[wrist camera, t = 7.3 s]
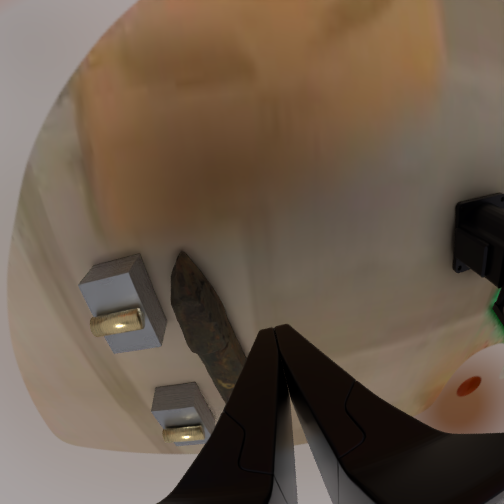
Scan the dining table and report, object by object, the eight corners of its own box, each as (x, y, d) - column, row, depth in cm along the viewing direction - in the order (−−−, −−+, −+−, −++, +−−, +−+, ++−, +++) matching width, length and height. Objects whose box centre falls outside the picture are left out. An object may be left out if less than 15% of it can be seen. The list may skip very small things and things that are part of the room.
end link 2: (195, 382, 27) (192, 419, 23) (214, 419, 29) (215, 453, 25) (155, 387, 27) (148, 423, 23) (178, 423, 29) (175, 457, 25)
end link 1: (139, 253, 21) (122, 283, 17) (167, 322, 24) (158, 359, 20) (93, 265, 21) (70, 295, 17) (123, 330, 24) (109, 366, 20)
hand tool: (277, 407, 29) (284, 443, 25) (239, 416, 29) (242, 452, 25) (219, 237, 22) (219, 266, 18) (165, 253, 22) (153, 284, 18)
